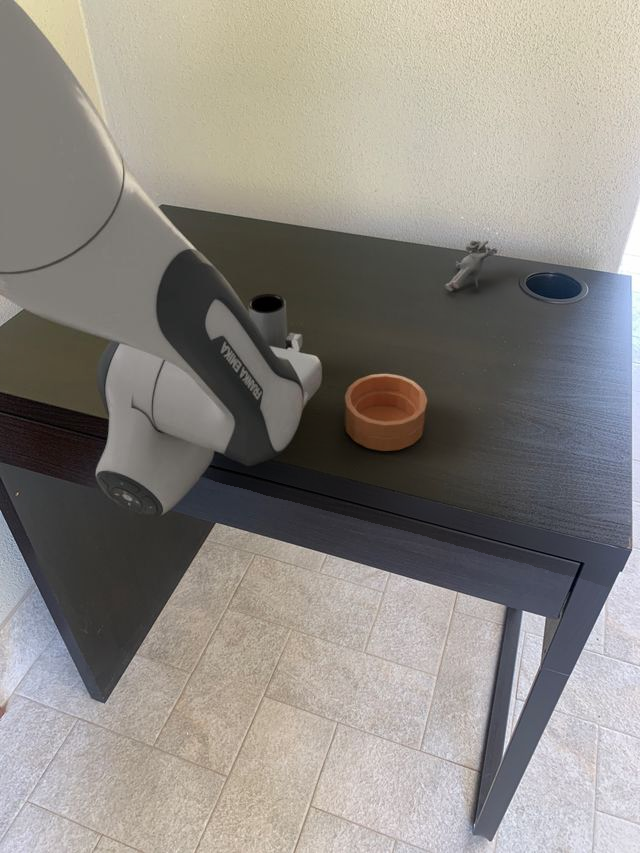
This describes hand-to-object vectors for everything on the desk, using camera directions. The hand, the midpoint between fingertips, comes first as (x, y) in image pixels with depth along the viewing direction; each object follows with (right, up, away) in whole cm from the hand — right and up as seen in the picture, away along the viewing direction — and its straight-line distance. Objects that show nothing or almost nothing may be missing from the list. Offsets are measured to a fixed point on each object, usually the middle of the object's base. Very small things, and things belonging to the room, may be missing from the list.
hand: (261, 330), depth 84 cm
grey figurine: (+30, +10, +22) cm, 39 cm away
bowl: (+15, -12, -4) cm, 19 cm away
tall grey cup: (+1, -5, +5) cm, 7 cm away
